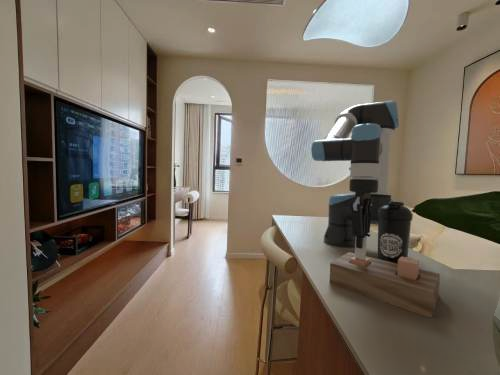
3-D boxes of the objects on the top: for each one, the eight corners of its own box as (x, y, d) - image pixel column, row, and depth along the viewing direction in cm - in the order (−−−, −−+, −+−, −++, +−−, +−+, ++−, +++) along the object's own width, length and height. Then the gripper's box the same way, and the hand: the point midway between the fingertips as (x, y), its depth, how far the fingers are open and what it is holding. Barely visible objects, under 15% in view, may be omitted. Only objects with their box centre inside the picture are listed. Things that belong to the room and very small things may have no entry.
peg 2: (400, 277, 65) (401, 256, 65) (417, 281, 62) (419, 260, 62) (396, 281, 62) (397, 260, 62) (415, 286, 59) (416, 264, 59)
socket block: (347, 269, 80) (348, 252, 79) (438, 295, 63) (439, 273, 63) (329, 282, 70) (330, 262, 69) (431, 318, 53) (433, 292, 53)
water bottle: (370, 269, 80) (374, 202, 79) (379, 261, 88) (382, 200, 87) (406, 278, 74) (410, 205, 72) (411, 269, 81) (415, 202, 80)
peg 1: (354, 273, 73) (355, 255, 73) (368, 277, 71) (369, 258, 70) (349, 277, 70) (350, 258, 70) (364, 282, 68) (365, 262, 67)
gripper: (358, 178, 76) (355, 250, 77) (341, 178, 67) (338, 260, 68) (384, 179, 71) (380, 256, 72) (370, 178, 61) (366, 267, 63)
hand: (360, 258), depth 70 cm, fingers closed
